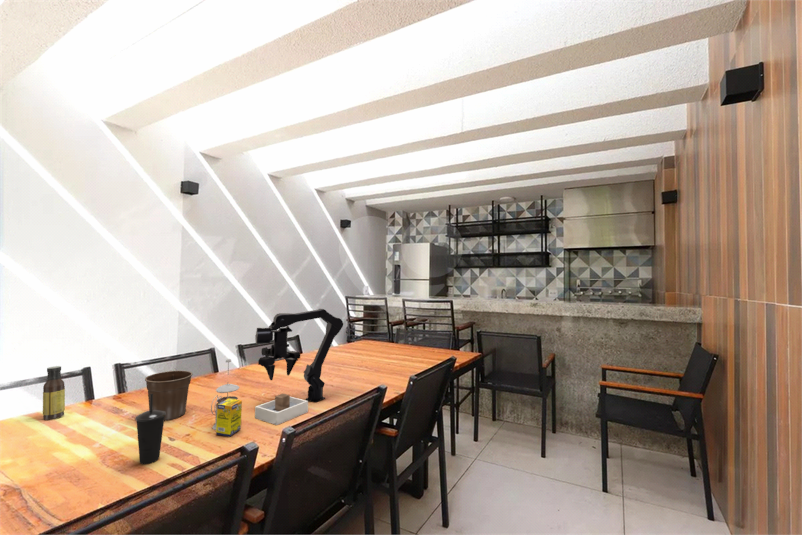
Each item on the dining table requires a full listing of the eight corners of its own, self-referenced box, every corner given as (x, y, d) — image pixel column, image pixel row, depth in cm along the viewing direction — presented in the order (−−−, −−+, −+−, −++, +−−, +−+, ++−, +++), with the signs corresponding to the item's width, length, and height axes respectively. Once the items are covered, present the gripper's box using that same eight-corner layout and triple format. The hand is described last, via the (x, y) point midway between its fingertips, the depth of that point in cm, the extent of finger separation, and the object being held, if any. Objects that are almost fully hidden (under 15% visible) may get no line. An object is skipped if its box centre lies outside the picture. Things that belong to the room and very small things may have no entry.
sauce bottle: (67, 413, 144) (69, 364, 144) (59, 419, 138) (61, 368, 139) (47, 415, 142) (49, 365, 142) (37, 421, 136) (40, 369, 136)
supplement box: (230, 437, 124) (231, 406, 123) (215, 434, 125) (216, 404, 125) (241, 429, 129) (242, 399, 129) (227, 427, 131) (228, 397, 131)
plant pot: (197, 415, 143) (198, 375, 143) (149, 427, 131) (150, 383, 132) (184, 405, 154) (185, 368, 155) (139, 415, 142) (140, 375, 143)
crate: (286, 406, 154) (286, 395, 155) (307, 411, 148) (308, 401, 148) (254, 418, 141) (255, 406, 141) (276, 425, 134) (277, 413, 134)
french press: (246, 422, 137) (248, 357, 138) (222, 434, 126) (224, 363, 127) (227, 418, 140) (228, 355, 141) (201, 430, 129) (203, 361, 130)
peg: (282, 410, 147) (283, 393, 147) (289, 412, 145) (289, 395, 145) (274, 413, 144) (275, 396, 144) (281, 415, 142) (281, 397, 142)
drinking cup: (144, 454, 111) (146, 390, 112) (169, 453, 112) (171, 389, 112) (127, 467, 103) (129, 398, 104) (155, 466, 104) (157, 397, 105)
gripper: (284, 337, 169) (284, 370, 168) (250, 343, 153) (249, 379, 152) (301, 339, 163) (300, 374, 162) (267, 346, 147) (266, 384, 146)
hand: (279, 377), depth 156 cm, fingers open, 9 cm apart
